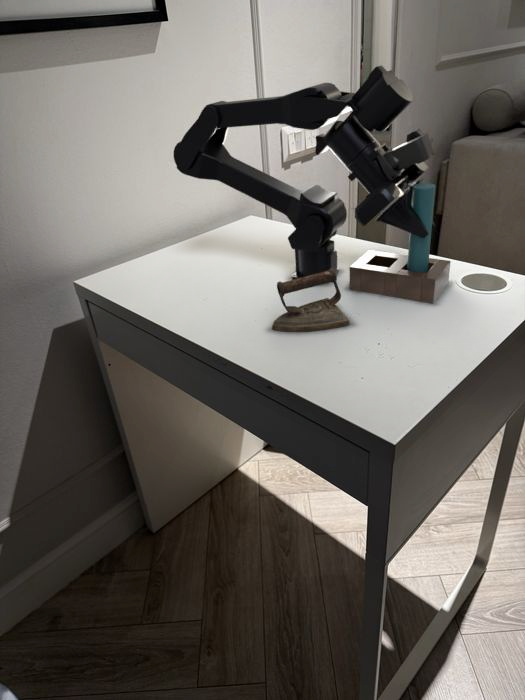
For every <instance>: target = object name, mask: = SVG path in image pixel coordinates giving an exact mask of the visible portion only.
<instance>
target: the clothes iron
mask: <svg viewBox="0 0 525 700" xmlns="http://www.w3.org/2000/svg"><path fill="white" fill-rule="evenodd" d="M337 279H338V276H337V273H336V272H335V270H334V268H331V269H329V270H328V271H325V272H321V273H317V274H314V275H310V276H306V277H302V278H298V279H290V280H287V281H281V280H280V281H277V282H276V290H277V292H278V296H279V298H280V302H281V304H282V305H283V308H284V309H285V310H286V312H284V313H283V314H280V315H279V316H277V317H276V319H275V320H274V321H273V324H272V325H271V329H272V330H274V331H279V332H288V333H289V332H290V333H293V332H294V333H301V332H303V333H304V332H305V333H306V332H315V331H316V332H317V331H324V330H331V329H336V328H341V327H342V328H343V327H347V326H349V325H350V324H351V321H350V319H349V318H348V317H347V316H346V315H345V313H344V312H343V311H342V310H341V309H340V308H339V306H337V305H336V304H338V303H339V302H340V300H342V293H341V291H340V288H339V284H338V283H337ZM329 283H332V284H333V286H334V289H335V294H334V295H333V296H332V297H330V298H329V297H326V298H321V299H318V300H315V301H311V302H308V303H306V304H302V305H300V306H296V305H286V302H285V299H284V296H285V295H287V294H291V293H294V292H299V291H302V290H306V289H311V288H314V287H318V286H322V285H326V284H329Z"/></svg>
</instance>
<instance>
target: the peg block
mask: <svg viewBox="0 0 525 700" xmlns="http://www.w3.org/2000/svg"><path fill="white" fill-rule="evenodd" d="M451 263H452V262H451V260H447V259H440V258H433V257H429V264H428V272H427V273H423V272H416V271H409V270H407V264H408V254H401V253H394V252H385V251H378V250H372V249H369V250H367V251H366V252H365V253H364V254H363V255H361V256H360V257H359V258H358V259H357V260H355V261H354V262H353V263H352V264H351V265H350V266H349V290H353V291H354V290H355V291H358V292H364V293H371V294H375V295H381V296H387V297H394V298H398V299H399V298H400V299H404V300H411V301H416V302H422V303H427V304H434V303H435V302H436V300H437V299H439V298H438V297H440V295H441V294H442V293H443V291H444V290H445V289H446V287H447V286H448V285H449V282H450V281H449V279H450V271H451V270H450V269H451Z"/></svg>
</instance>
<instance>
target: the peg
mask: <svg viewBox="0 0 525 700" xmlns="http://www.w3.org/2000/svg"><path fill="white" fill-rule="evenodd" d="M435 197H436V184H433V183H429V182H422V183H419V184H415V185H413V191H412V205H411V206H412V207H413V209H414V210H415V212H416V213H417V215H418V216H419V218H420V219H421V221H422V222H423V224H424V225H425V227H426V229H427V230H428V232H429V234H428V236H426V237H425V238H421V237H419V236H416V235H414V234H412V233H409V234H408V235H409V237H408V249H407V250H408V251H407V255H408V264H407V270H409V271H416V272H423V273H427V272H428V264H429V258H430V251H431V239H432V230H433V229H432V220H434V219H433V218H434V206H435Z"/></svg>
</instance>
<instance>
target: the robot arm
mask: <svg viewBox="0 0 525 700" xmlns="http://www.w3.org/2000/svg"><path fill="white" fill-rule="evenodd" d="M412 102H414V95H413V92H412V91H411V89H410V88H409V87H408V85H407V83H405V81H404V80H403V79H399V78H398V76H397V75H395V74H393V73H392V72H390V71H388V70H387V69H386V68H385V67H384V66H383V65H382V64H381V65H378V66H375V67H374V68H373V69H372V70H371V72H370V73H369V75H368V77H367V78H366V80H365V81H363V83H362V84H361V86H359V88H358V89H357V91H355V92H349V91H348V92H347V91H341V90H340V89H339V88H338V87H337V86H336V85H335V84H334V83H331V82H322V83H317V84H315V85H311V86H309V87H305V88H302V89H299V90H296V91H293V92H290V93H288V94H284V95H278V96H270V97H269V96H268V97H261V98H259V97H258V98H251V99H242V100H232V101H225V100H219V101H216V102H212V103H209V104H206V105H205V106H204V107H203V109H202V110H201V112H200V114H199V116H198V117H197V119H196V120H195V121H194V122H193V124H192V125H191V126H190V127H189V129H188V130H187V131H186V133H184V135H183V137H182V138H181V140H180V141H179V142H177V143H176V145H175V146H174V149H173V161H174V163H175V165H176V169H177V171H179V172H180V173H181V174H183V175H185V176H189V177H192V178H195V179H198V180H210V181H217V182H220V183H221V184H223V185H225V186H228V187H229V188H232V189H233V190H235V191H237V192H240V193H241V194H244V195H245V196H248V197H249V198H251V199H253V200H255V201H257V202H260V203H261V204H263V205H265V206H267V207H269V208H271V209H273V210H274V211H277V212H279V213H281V214H282V215H284V216H285V217H286V218H287V219H288V220H289V222H290V223H291V225H292V226H293V228H294V230H293V231H292V232H291V233H290V235H288V237H287V240H288V243H289V245H290V248H291V250H294V261H295V272H294V273H293V274H291V280H294V279H298V278H302V277H306V276H310V275H314V274H317V273H321V272H325V271H328V270H329V269H331V268H334V270H335V272H336V274H337V273H339V272H340V268H339V267H338V251H337V249H336V248H335V240H331V239H332V238H333V237H335V236H336V235H337V233H338V230H339V229H340V228H342V226H343V225H344V224H345V222H346V221H347V218H348V217H347V216H348V213H347V208H346V206H345V202H344V201H343V200H342V199H341V198H339V197H338V196H337V195H338V192H336V191H335V192H333V191H329V190H327V189H326V188H324V187H323V186H322V185H319V184H317V183H314V185H312V186H310V187H309V188H307V189H305V190H301V189H299V188H296V187H294V186H293V185H291V184H288V183H286V182H285V181H283V180H280V179H279V178H276V177H274V176H272V175H271V174H268V173H266V172H264V171H262V170H260V169H258V168H255V167H253V166H252V165H250V164H248V163H245V162H244V161H241V160H239V159H237V158H235V157H234V156H232V155H231V154H230V152H229V151H228V149H227V148H226V146H225V145H224V144H225V142H226V139H227V137H228V136H227V135H228V131H229V128H240V127H250V126H251V127H252V126H266V125H283V126H284V125H285V126H287V127H289V128H293V129H301V130H308V131H315V130H319V129H320V128H323V127H325V126H327V125H329V124H332V123H333V122H334V123H333V124H332V125H331V126H330V127H329V129H328V130H327V131H326V132H325V133H319V134H318V135H316V136H315V137H314V138H315V150H314V154H315V155H316V156H319V155H321V154H323V153H325V152H327V151H329V150H330V151H331V152H332V153H333V155H335V157H336V158H337V159H338V160H339V161H340V162H341V164H343V166H344V167H345V168H346V169H347V171H349V174H348V176H347V178H348V179H349V181H351V182H354V181H355V180H356V181H357V182H358V183H359V185H361V187H363V189H364V190H365V191H366V192H367V193H368V194H367V195H365V198H364V199H363V200H362V201H361V202H360V203H359V204H358V205H357V206H356V207H355V208H354V219H355V220H356V221H357V222H358V223H359V224H360V226H361V227H362V228H364V227H365V226H367V224H369V223H370V222H371V221H372V220H374V218H375V217H376V216H377V215H378V214H380V215H379V216H378V217H377V218H376V219H375V222H376V223H379V222H381V223H383V224H386V225H388V226H391V227H394V228H397V229H400V230H402V231H405V232H407V233H409V234H410V233H412V234H414V235H416V236H419V237H421V238H425V237H426V236H428V234H429V232H428V230H427V229H426V227H425V225H424V224H423V222H422V221H421V219H420V218H419V216H418V215H417V213H416V212H415V210H414V209H413V207H412V206H411V205H412V191H413V185H415V184H419V183H424V176H422V175H423V174H424V173H425V172H426V171H427V170H428V169H429V166H428V165H427V164H426V163H425V162H426V161H427V160H429V159H430V158H431V156H434V155H435V154H436V152H435V149H434V147H433V144H432V143H433V142H434V138H433V137H432V136H430V134H429V132H428V131H427V132H424V131H423V130H421V128H416V129H414V130H412V131H410V132H409V133H407V134H406V137H405V138H406V139H405V142H403V143H401V144H400V145H398V146H396V147H392V146H391V145H390V144H389V143H388V142H387V143H386V142H383V143H382V144H381V143H380V142H379V141H378V140H377V139H376V138H375V137H374V136H373V135H372V133H374V132H376V131H377V132H379V133H382V132H383V133H384V132H385V131H386V130H387V129H388V128H389V126H391V125H392V124H393V122H394V121H396V120H397V118H399V116H400V115H401V114H402V113H403V112H404V111H405V110H406V109H407V108H408V107H409V106H410V104H412ZM348 112H350V113H349V114H348V116H347V117H346V118H345V119H344V120H338V118H339V117H340V116H341V115H344V114H346V113H348ZM421 176H422V177H421ZM420 177H421V178H420ZM418 178H419V180H417V179H418ZM416 180H417V181H416ZM433 220H434V219H433ZM433 220H432V230H433V229H435V227H436V224H435V222H434V221H433Z"/></svg>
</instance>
